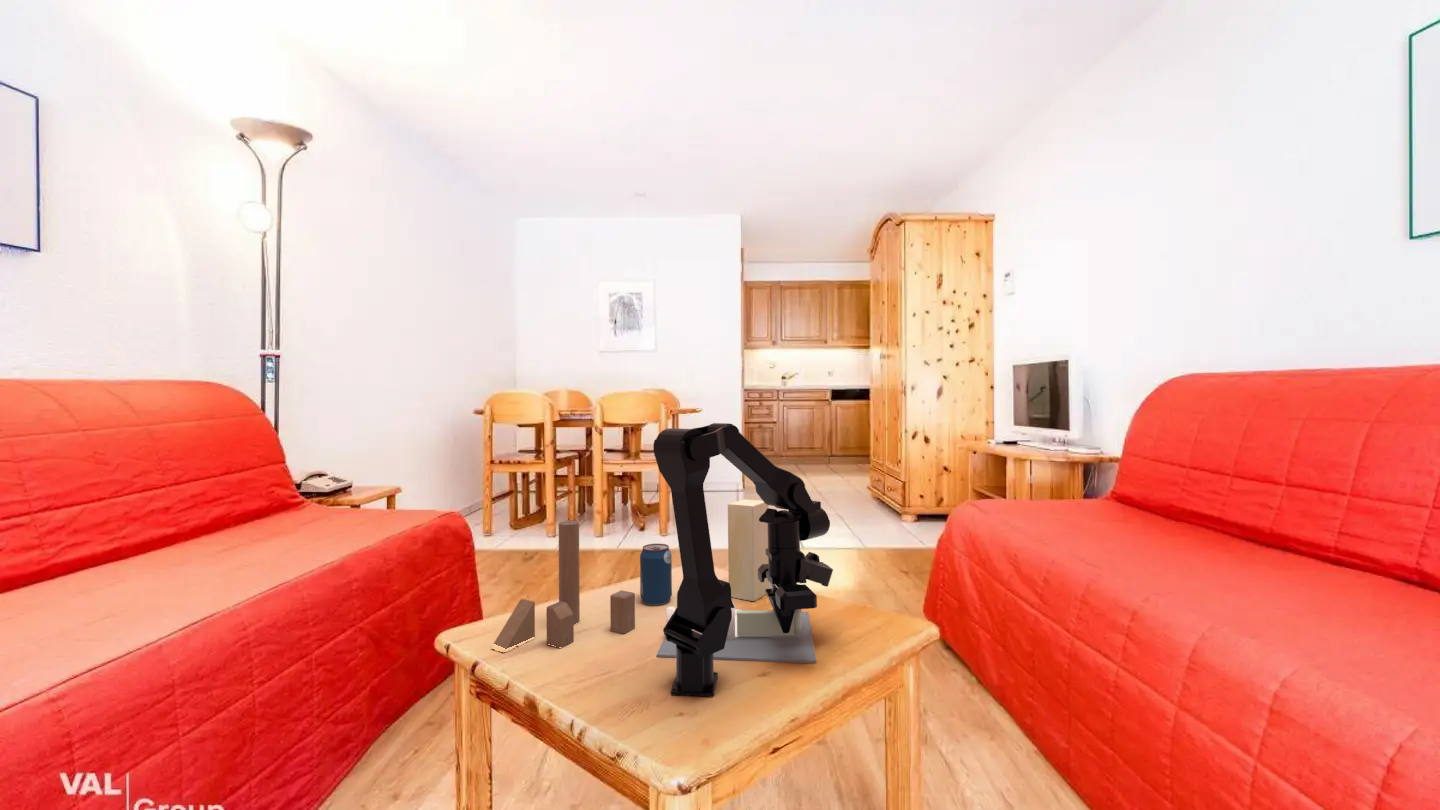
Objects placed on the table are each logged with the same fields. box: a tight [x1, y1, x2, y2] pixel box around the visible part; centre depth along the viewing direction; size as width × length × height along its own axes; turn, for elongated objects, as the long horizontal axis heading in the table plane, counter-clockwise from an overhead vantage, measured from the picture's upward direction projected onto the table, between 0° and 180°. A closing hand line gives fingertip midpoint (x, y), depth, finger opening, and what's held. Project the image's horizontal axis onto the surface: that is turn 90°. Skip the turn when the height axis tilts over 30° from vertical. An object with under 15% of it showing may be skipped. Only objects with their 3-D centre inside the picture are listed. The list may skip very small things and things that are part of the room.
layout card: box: [655, 603, 817, 664], centre depth 103 cm, size 22×27×6 cm
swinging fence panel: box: [737, 609, 802, 636], centre depth 100 cm, size 2×12×4 cm, turn 90°
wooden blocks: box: [493, 520, 636, 649], centre depth 101 cm, size 17×20×20 cm
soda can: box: [639, 543, 673, 606], centre depth 121 cm, size 7×7×12 cm
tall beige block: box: [727, 499, 770, 602], centre depth 125 cm, size 8×7×21 cm
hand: (786, 632), depth 98 cm, fingers closed
